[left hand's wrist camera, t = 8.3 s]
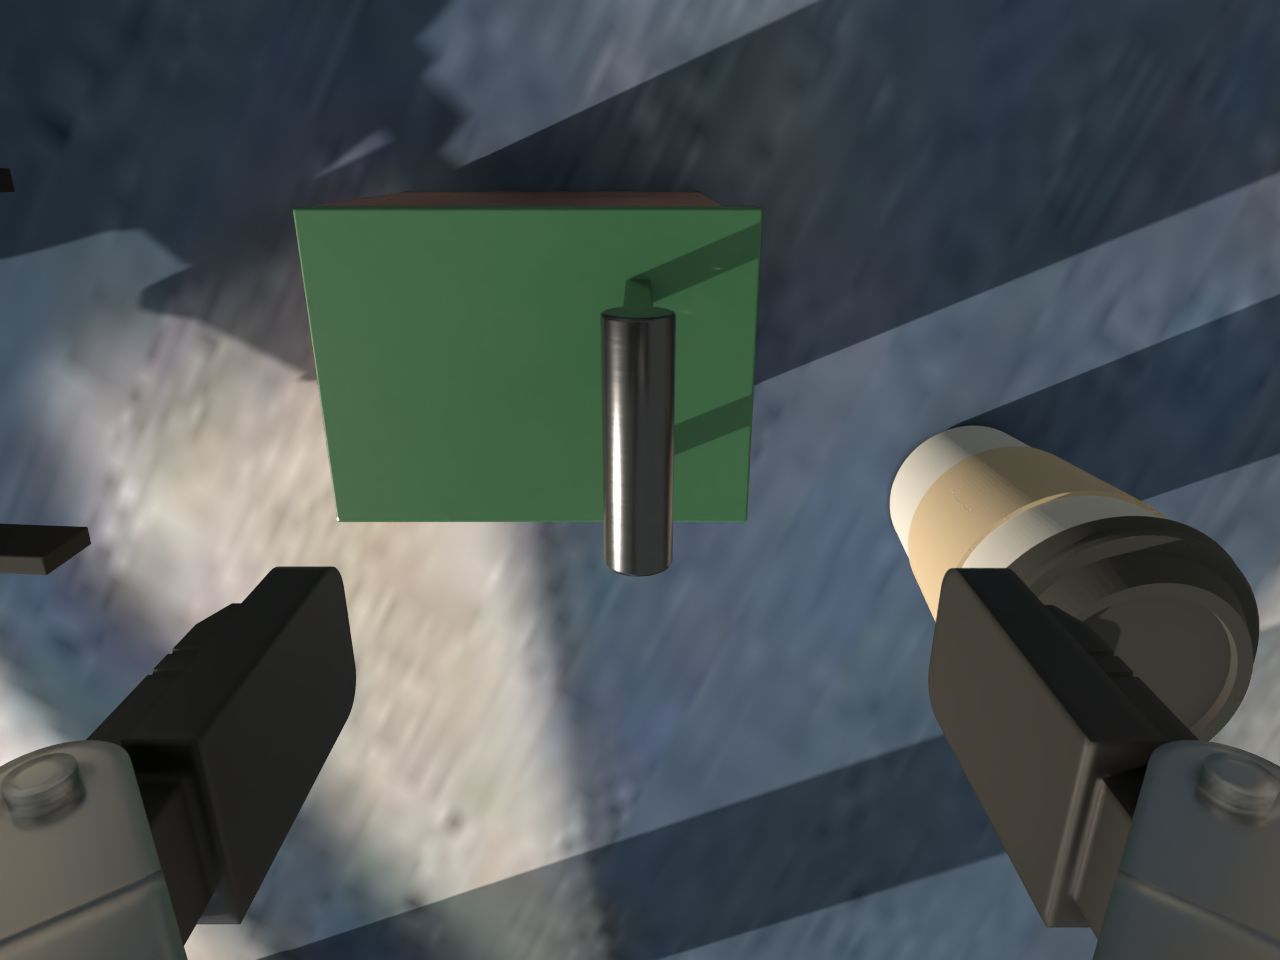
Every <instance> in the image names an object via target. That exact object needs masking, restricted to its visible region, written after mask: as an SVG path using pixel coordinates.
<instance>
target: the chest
mask: <svg viewBox="0 0 1280 960" xmlns="http://www.w3.org/2000/svg"><path fill="white" fill-rule="evenodd" d="M313 206H722V205H720V204H719V203H717V202H715V201H713V200H712V199H710V198H708V197H706V196H704V195H703V194H701V193H700V192H699V191H407V192H403V193H396V194H389V195H382V196H375V197H368V198H361V199H354V200H348V201H341V202H334V203H327V204H320V205H313Z"/></svg>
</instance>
